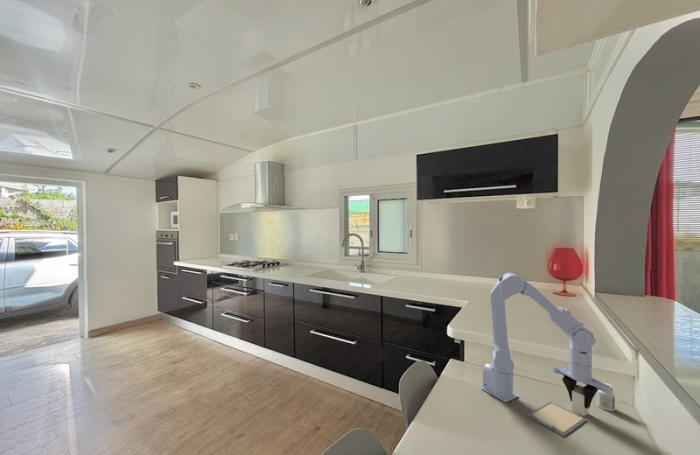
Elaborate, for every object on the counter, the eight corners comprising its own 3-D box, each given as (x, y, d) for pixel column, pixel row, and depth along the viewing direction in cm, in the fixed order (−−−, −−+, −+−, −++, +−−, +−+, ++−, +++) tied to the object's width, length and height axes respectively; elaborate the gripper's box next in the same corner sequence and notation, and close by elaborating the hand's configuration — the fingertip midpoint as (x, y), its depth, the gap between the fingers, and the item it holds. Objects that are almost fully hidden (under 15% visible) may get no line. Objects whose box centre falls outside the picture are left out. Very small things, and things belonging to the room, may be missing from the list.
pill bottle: (618, 412, 88) (618, 389, 89) (602, 410, 89) (602, 387, 89) (608, 404, 93) (608, 382, 93) (593, 402, 93) (593, 380, 94)
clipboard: (526, 416, 85) (526, 412, 85) (550, 402, 93) (550, 399, 93) (563, 437, 77) (563, 433, 77) (586, 420, 84) (586, 417, 84)
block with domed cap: (571, 410, 89) (571, 386, 89) (576, 407, 91) (576, 383, 91) (584, 416, 86) (584, 391, 86) (588, 413, 88) (588, 388, 88)
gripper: (614, 369, 84) (614, 413, 84) (560, 351, 97) (560, 389, 97) (605, 374, 81) (605, 420, 80) (550, 355, 94) (550, 394, 93)
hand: (580, 403), depth 88 cm, fingers closed on block with domed cap, 3 cm apart
